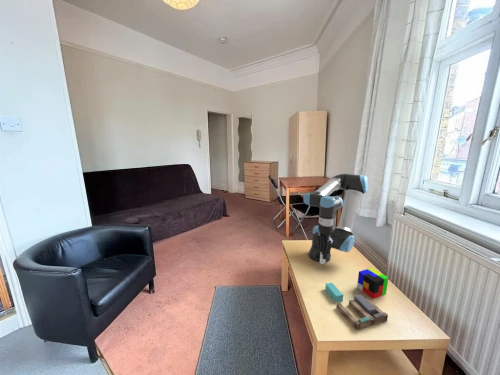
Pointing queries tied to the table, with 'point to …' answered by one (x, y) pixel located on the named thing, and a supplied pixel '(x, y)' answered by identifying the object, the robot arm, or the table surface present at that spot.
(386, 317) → the comb rack
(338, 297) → the teal block
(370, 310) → the grey block
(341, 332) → the table surface
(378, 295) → the puzzle toy
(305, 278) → the table surface
